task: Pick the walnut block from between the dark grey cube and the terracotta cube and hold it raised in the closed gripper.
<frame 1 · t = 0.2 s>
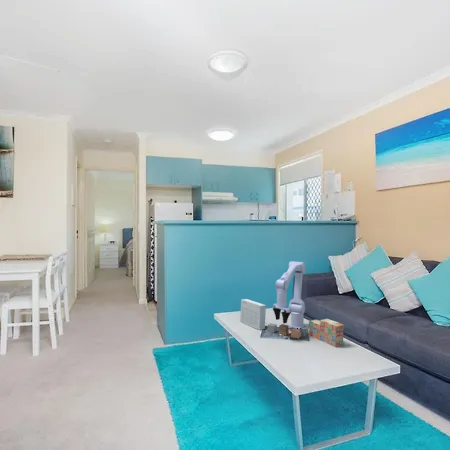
hand: (281, 321, 193), 10 cm above the table, tool pointing down, fingers open, 7 cm apart
stack of blocks: (325, 340, 190), on the table
grey cube: (272, 331, 203), on the table
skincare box: (252, 325, 215), on the table
terracotta cube: (295, 337, 194), on the table
walnut block: (283, 334, 199), on the table
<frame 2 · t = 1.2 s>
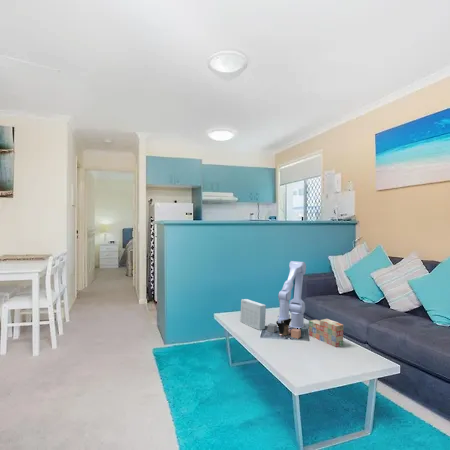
hand: (283, 331, 199), 2 cm above the table, tool pointing down, fingers open, 7 cm apart
nothing on the table moved.
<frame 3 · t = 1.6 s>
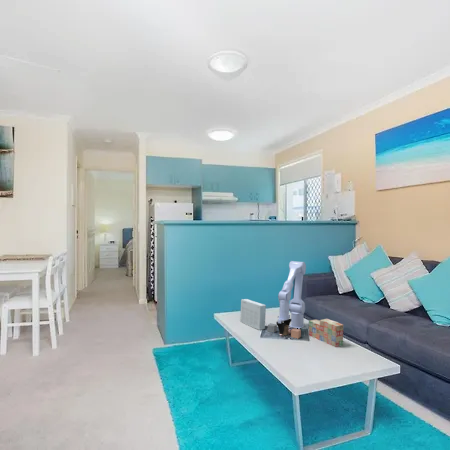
hand: (283, 331, 199), 1 cm above the table, tool pointing down, fingers open, 7 cm apart
nothing on the table moved.
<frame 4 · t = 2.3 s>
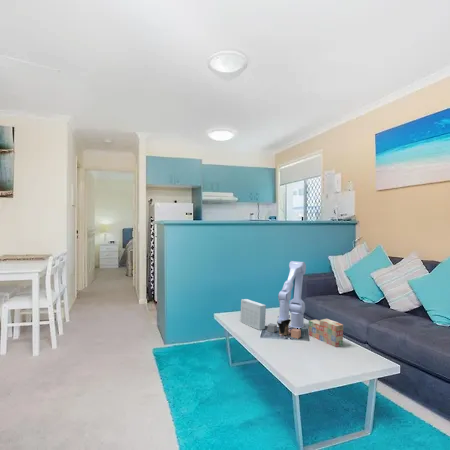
hand: (283, 331, 199), 1 cm above the table, tool pointing down, fingers closed on walnut block, 4 cm apart
walnut block: (283, 334, 199), on the table, touching gripper
everything else where it was.
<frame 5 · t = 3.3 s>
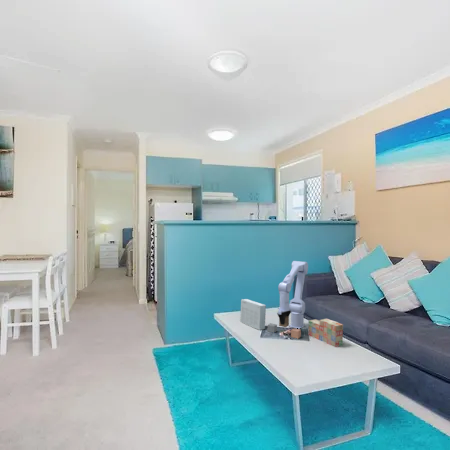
hand: (284, 323, 199), 7 cm above the table, tool pointing down, fingers closed on walnut block, 4 cm apart
walnut block: (283, 325, 199), point 5 cm above the table, touching gripper
everything else where it was.
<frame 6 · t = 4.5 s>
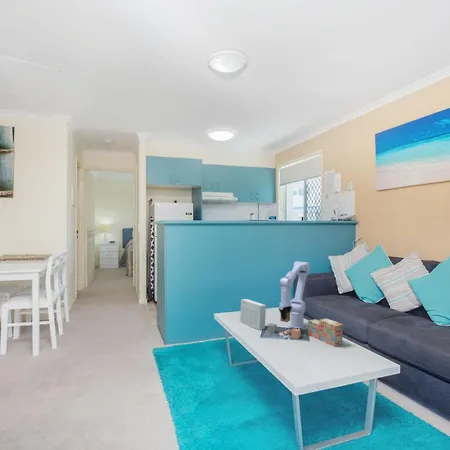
hand: (285, 318, 200), 9 cm above the table, tool pointing down, fingers closed on walnut block, 4 cm apart
walnut block: (285, 320, 200), point 8 cm above the table, touching gripper
everything else where it was.
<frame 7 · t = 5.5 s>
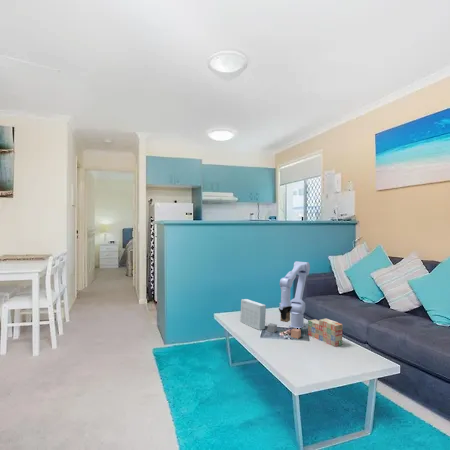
hand: (285, 318, 200), 9 cm above the table, tool pointing down, fingers closed on walnut block, 4 cm apart
walnut block: (285, 320, 200), point 8 cm above the table, touching gripper
everything else where it was.
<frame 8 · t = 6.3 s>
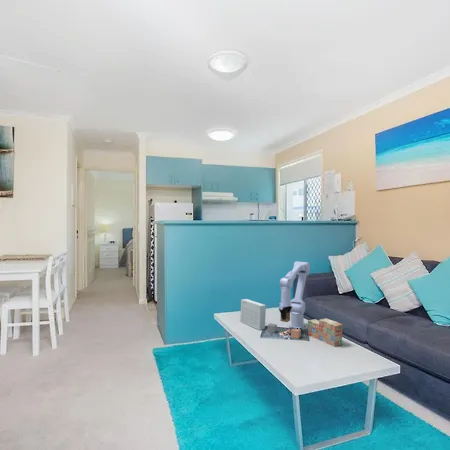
hand: (285, 318, 200), 9 cm above the table, tool pointing down, fingers closed on walnut block, 4 cm apart
walnut block: (285, 320, 200), point 8 cm above the table, touching gripper
everything else where it was.
at the end: walnut block point 8.0 cm above the table; grey cube moved 0.1 cm from its start; terracotta cube moved 0.1 cm from its start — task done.
